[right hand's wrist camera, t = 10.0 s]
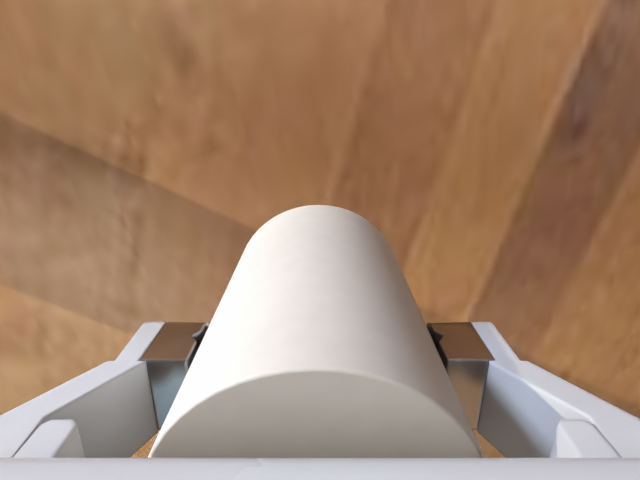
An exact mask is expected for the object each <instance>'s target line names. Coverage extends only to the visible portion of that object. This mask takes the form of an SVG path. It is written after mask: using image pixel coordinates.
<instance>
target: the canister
mask: <svg viewBox="0 0 640 480" xmlns="http://www.w3.org/2000/svg"><path fill="white" fill-rule="evenodd" d="M148 458H484V455H483V453H482V451H481V449H480V446H479V444H478V442H477V440H476V437H475V435H474V433H473V430H472V428H471V426H470V424H469V421H468V419H467V417H466V415H465V412H464V410H463V408H462V406H461V403H460V401H459V399H458V397H457V394H456V392H455V390H454V388H453V385H452V383H451V381H450V379H449V376H448V374H447V372H446V369H445V367H444V365H443V363H442V360H441V358H440V356H439V354H438V351H437V349H436V347H435V345H434V342H433V340H432V338H431V336H430V333H429V331H428V329H427V327H426V324H425V322H424V320H423V318H422V315H421V313H420V311H419V308H418V306H417V304H416V302H415V299H414V297H413V295H412V293H411V290H410V288H409V286H408V284H407V281H406V279H405V277H404V275H403V272H402V270H401V268H400V266H399V263H398V261H397V259H396V257H395V254H394V252H393V250H392V248H391V246H390V244H389V242H388V241H387V239H386V238H385V236H384V235H383V234H382V233H381V232H380V231H379V230H378V228H376V227H375V226H374V225H373V224H372V223H371V222H369V221H368V220H366V219H365V218H363V217H362V216H360V215H358V214H356V213H354V212H352V211H349V210H346V209H343V208H340V207H334V206H328V205H310V206H303V207H298V208H294V209H291V210H288V211H285V212H283V213H281V214H279V215H277V216H275V217H274V218H272V219H271V220H269V221H268V222H266V223H265V224H264V225H263V226H262V227H261V228H260V229H259V230H258V231H257V232H256V233H255V234H254V235H253V237H252V238H251V240H250V241H249V243H248V244H247V246H246V248H245V250H244V252H243V255H242V257H241V259H240V261H239V263H238V265H237V267H236V269H235V272H234V274H233V276H232V278H231V280H230V282H229V284H228V287H227V289H226V291H225V293H224V295H223V297H222V299H221V302H220V304H219V306H218V308H217V310H216V312H215V314H214V317H213V319H212V321H211V323H210V325H209V327H208V329H207V331H206V334H205V336H204V338H203V340H202V342H201V344H200V346H199V349H198V351H197V353H196V355H195V357H194V359H193V361H192V364H191V366H190V368H189V370H188V372H187V374H186V376H185V379H184V381H183V383H182V385H181V387H180V389H179V391H178V394H177V396H176V398H175V400H174V402H173V404H172V406H171V408H170V411H169V413H168V415H167V417H166V419H165V421H164V423H163V426H162V428H161V430H160V432H159V434H158V436H157V438H156V441H155V443H154V445H153V447H152V449H151V452H150V454H149V456H148Z"/></svg>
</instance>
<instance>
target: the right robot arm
mask: <svg viewBox="0 0 640 480" xmlns="http://www.w3.org/2000/svg"><path fill="white" fill-rule="evenodd" d="M208 327H209V324H208V323H195V322H146V323H143V324H142V326H141V327H140V328H139V330H138V331H137V332H136V334H135V335H134V336H133V338H132V339H131V340H130V342H129V343H128V344H127V345H126V347H125V348H124V349H123V351H122V352H121V353H120V355H119V356H118V357H117V359H116V360H115V361H107V362H105V363H103V364H101V365H99V366H97V367H95V368H93V369H91V370H89V371H87V372H85V373H83V374H81V375H79V376H77V377H75V378H73V379H72V380H70V381H68V382H66V383H64V384H62V385H60V386H58V387H56V388H54V389H52V390H50V391H48V392H46V393H44V394H42V395H40V396H38V397H36V398H34V399H32V400H30V401H28V402H26V403H24V404H22V405H20V406H18V407H16V408H14V409H12V410H10V411H9V412H7V413H5V414H3V415H1V416H0V480H640V419H639V418H637V417H635V416H633V415H631V414H629V413H628V412H626V411H624V410H622V409H620V408H618V407H616V406H614V405H612V404H610V403H608V402H606V401H604V400H602V399H600V398H598V397H596V396H594V395H593V394H591V393H589V392H587V391H585V390H583V389H581V388H579V387H577V386H575V385H573V384H571V383H569V382H567V381H565V380H563V379H561V378H560V377H558V376H556V375H554V374H552V373H550V372H548V371H546V370H544V369H542V368H540V367H538V366H536V365H534V364H532V363H530V362H528V361H520V359H519V358H518V357H517V355H516V354H515V353H514V351H513V350H512V349H511V347H510V346H509V345H508V343H507V342H506V341H505V339H504V338H503V337H502V335H501V334H500V333H499V331H498V330H497V329H496V327H495V326H494V325H493V323H491V322H459V323H428V324H427V326H426V327H427V329H428V331H429V333H430V336H431V338H432V340H433V342H434V345H435V347H436V349H437V351H438V354H439V356H440V358H441V360H442V363H443V365H444V367H445V369H446V372H447V374H448V376H449V379H450V381H451V383H452V385H453V388H454V390H455V392H456V394H457V397H458V399H459V401H460V403H461V406H462V408H463V410H464V412H465V415H466V417H467V419H468V421H469V424H470V426H471V428H472V430H478V432H479V433H480V434H481V435H482V436H483V437H484V438H485V439H486V440H487V441H488V442H490V443H491V444H492V445H493V446H494V447H495V448H496V449H497V450H498V451H499V452H501V453H502V454H503V455H504V456H505V457H506V458H130V457H131V456H132V455H133V454H134V453H135V452H136V451H137V450H138V449H140V448H141V447H142V446H143V445H144V444H145V443H146V442H147V441H148V440H150V439H151V438H152V437H153V436H154V435H155V434H156V433H157V432H158V430H161V428H162V426H163V423H164V421H165V419H166V417H167V415H168V413H169V411H170V408H171V406H172V404H173V402H174V400H175V398H176V396H177V394H178V391H179V389H180V387H181V385H182V383H183V381H184V379H185V376H186V374H187V372H188V370H189V368H190V366H191V364H192V361H193V359H194V357H195V355H196V353H197V351H198V349H199V346H200V344H201V342H202V340H203V338H204V336H205V334H206V331H207V329H208Z"/></svg>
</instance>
